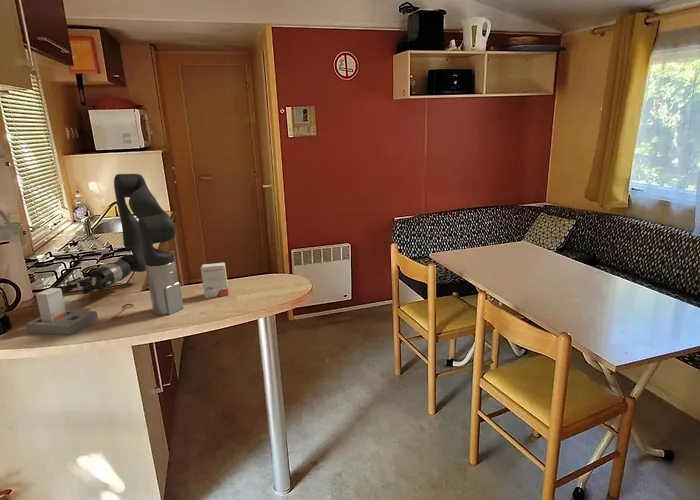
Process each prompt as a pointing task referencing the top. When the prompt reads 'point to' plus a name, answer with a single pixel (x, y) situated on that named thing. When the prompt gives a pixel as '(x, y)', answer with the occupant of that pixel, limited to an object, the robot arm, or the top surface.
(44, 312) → the skincare box
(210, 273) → the ink box
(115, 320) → the key
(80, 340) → the top surface
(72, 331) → the holder
